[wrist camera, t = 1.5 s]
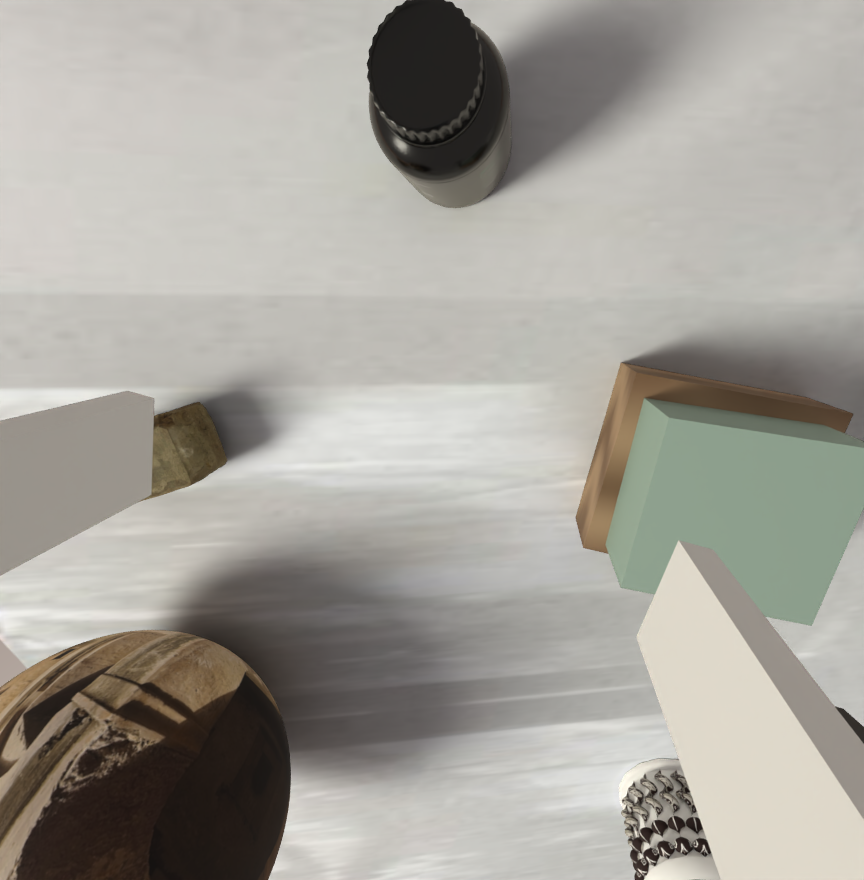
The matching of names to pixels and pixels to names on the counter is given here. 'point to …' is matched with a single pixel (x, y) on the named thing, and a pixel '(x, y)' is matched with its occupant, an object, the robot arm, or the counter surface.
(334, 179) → the counter surface
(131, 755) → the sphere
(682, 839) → the decorative candle
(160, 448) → the stone block
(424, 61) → the supplement bottle
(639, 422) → the sage top block
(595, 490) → the walnut base block
